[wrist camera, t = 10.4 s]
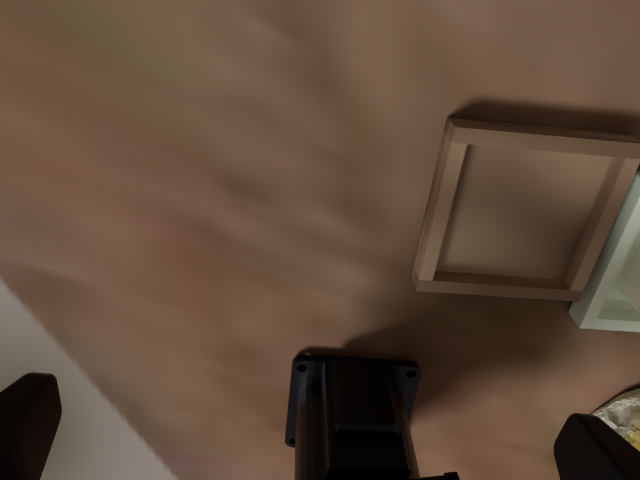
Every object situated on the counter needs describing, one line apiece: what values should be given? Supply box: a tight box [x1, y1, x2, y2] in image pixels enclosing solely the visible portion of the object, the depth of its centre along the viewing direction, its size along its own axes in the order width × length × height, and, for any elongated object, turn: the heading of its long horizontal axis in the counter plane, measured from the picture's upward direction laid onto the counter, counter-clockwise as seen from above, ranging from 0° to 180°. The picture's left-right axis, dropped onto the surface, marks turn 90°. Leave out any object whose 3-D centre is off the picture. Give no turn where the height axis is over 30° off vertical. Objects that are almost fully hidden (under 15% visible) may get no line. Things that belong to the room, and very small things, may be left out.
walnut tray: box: [411, 117, 640, 302], centre depth 21 cm, size 7×7×1 cm
